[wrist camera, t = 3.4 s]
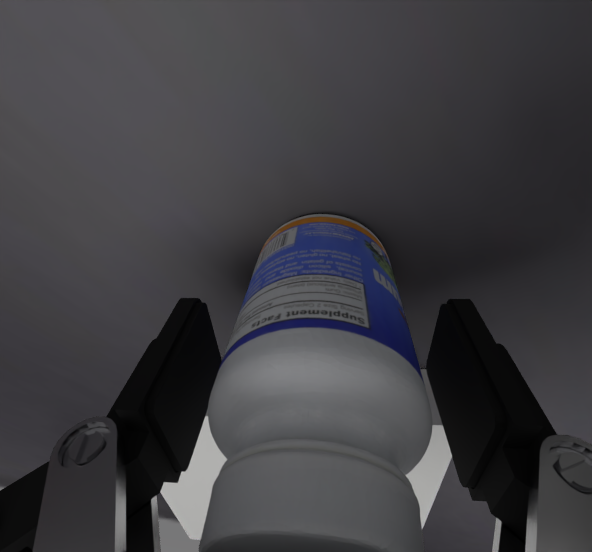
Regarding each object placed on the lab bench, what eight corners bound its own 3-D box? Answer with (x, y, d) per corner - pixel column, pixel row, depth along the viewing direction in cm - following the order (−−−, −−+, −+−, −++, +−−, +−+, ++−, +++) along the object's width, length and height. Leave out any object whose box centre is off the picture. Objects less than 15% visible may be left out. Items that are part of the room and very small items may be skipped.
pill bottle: (389, 314, 15) (462, 629, 7) (271, 322, 16) (214, 611, 8) (388, 199, 12) (517, 520, 4) (242, 217, 13) (96, 510, 5)
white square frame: (443, 369, 16) (464, 426, 14) (403, 506, 26) (411, 555, 23) (139, 362, 18) (109, 412, 16) (202, 494, 27) (190, 539, 25)
